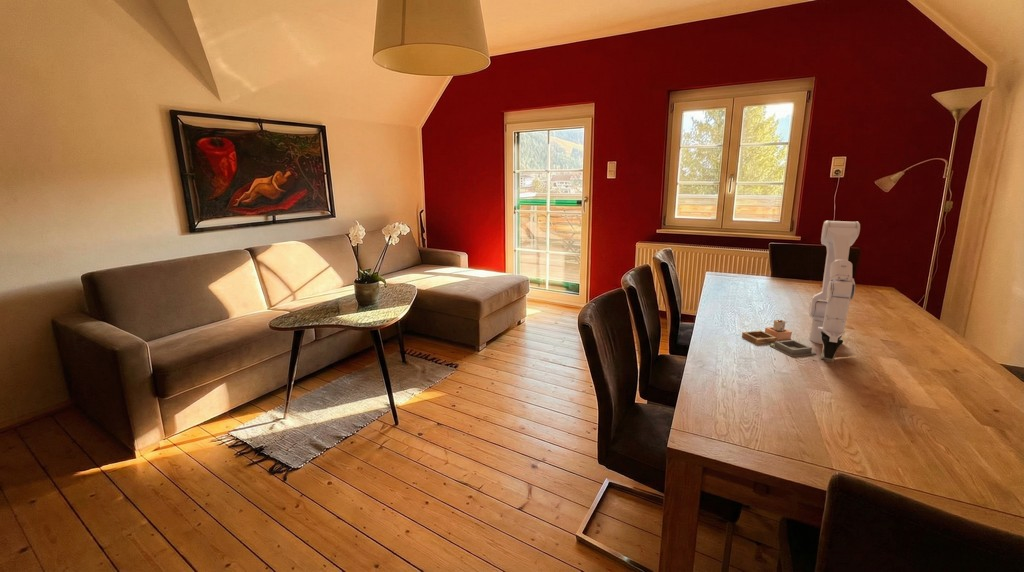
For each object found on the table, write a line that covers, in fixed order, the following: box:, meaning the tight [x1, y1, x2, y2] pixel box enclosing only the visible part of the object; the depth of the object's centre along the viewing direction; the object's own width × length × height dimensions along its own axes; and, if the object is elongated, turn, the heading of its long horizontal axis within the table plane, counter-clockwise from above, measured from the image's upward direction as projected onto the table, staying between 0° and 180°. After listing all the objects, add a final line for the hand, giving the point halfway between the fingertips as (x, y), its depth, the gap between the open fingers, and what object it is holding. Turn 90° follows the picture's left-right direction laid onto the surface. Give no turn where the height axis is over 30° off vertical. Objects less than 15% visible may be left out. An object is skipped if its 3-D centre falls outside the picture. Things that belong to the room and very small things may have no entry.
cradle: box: [769, 339, 817, 358], centre depth 150 cm, size 10×10×3 cm
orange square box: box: [764, 326, 793, 341], centre depth 162 cm, size 6×6×3 cm
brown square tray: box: [741, 330, 778, 345], centre depth 159 cm, size 8×8×2 cm
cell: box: [820, 344, 837, 363], centre depth 143 cm, size 4×4×6 cm
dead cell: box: [772, 319, 786, 332], centre depth 161 cm, size 4×4×6 cm
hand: (828, 355), depth 143 cm, fingers closed on cell, 4 cm apart
